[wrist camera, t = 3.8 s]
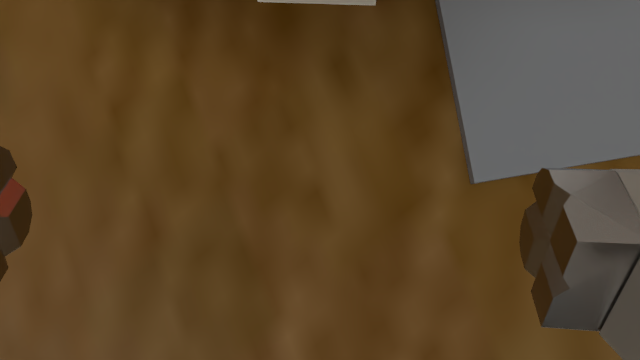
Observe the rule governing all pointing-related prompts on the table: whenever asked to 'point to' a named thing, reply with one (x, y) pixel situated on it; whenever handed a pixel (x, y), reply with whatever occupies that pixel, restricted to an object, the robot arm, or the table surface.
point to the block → (326, 1)
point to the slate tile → (543, 82)
